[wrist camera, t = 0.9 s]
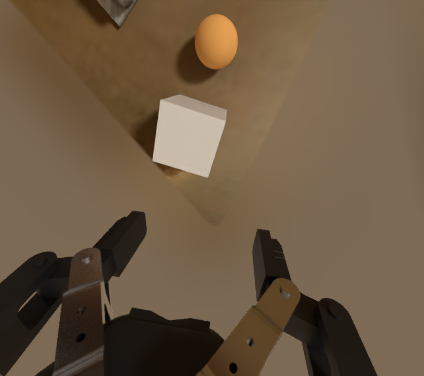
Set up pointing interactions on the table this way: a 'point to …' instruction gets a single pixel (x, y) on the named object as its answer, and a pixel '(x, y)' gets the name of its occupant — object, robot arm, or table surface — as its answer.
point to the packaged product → (117, 9)
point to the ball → (216, 41)
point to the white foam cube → (188, 134)
